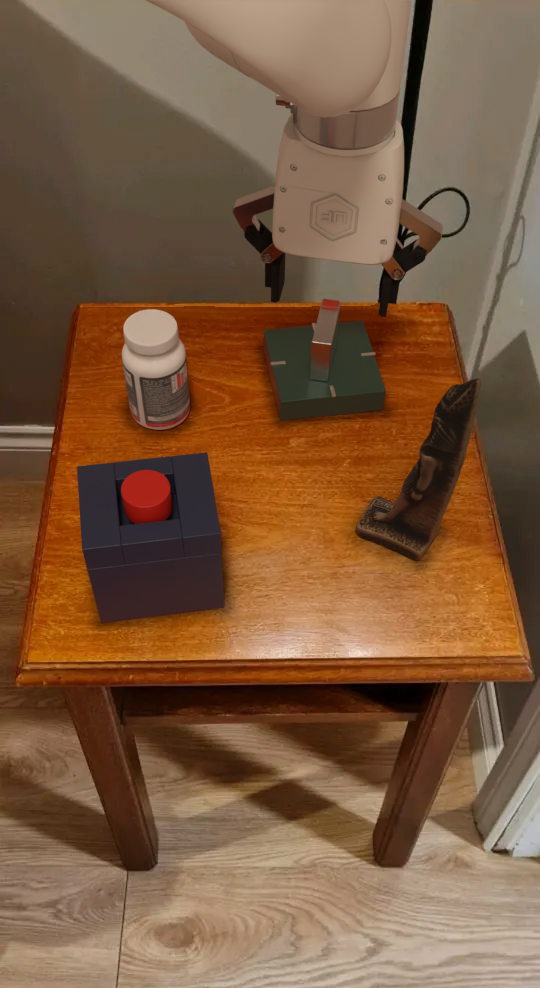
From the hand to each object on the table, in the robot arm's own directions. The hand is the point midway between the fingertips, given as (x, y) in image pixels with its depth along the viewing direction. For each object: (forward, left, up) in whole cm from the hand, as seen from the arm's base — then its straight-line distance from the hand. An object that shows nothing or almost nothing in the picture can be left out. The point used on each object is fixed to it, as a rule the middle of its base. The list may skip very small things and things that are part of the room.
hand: (330, 299), depth 81 cm
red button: (-18, -21, 0) cm, 28 cm away
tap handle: (0, 0, -7) cm, 7 cm away
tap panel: (0, 0, -9) cm, 9 cm away
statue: (+3, -20, -10) cm, 22 cm away
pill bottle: (-16, -2, -10) cm, 19 cm away
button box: (-18, -21, -9) cm, 29 cm away
